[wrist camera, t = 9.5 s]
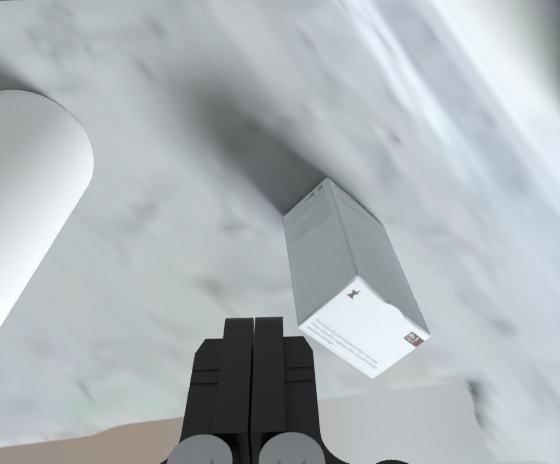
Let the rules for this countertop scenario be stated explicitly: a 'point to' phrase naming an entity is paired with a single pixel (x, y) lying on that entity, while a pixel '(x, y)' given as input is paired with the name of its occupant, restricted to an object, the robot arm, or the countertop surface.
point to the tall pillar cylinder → (36, 183)
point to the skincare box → (350, 282)
